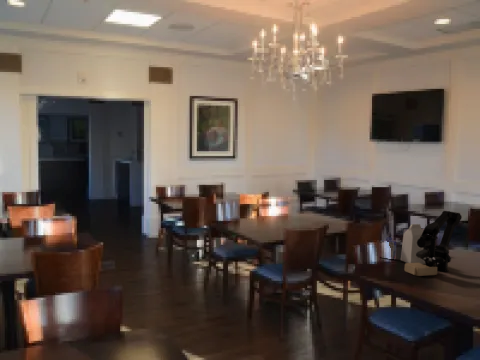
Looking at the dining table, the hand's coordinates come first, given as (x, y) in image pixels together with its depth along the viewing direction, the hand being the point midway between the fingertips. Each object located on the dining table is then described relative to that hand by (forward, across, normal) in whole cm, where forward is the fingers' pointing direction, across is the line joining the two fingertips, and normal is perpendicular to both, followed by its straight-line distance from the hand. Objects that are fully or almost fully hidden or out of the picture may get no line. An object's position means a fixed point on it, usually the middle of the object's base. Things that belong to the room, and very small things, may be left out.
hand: (428, 270), depth 286 cm
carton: (+2, -2, -7) cm, 7 cm away
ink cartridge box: (+2, -38, -3) cm, 38 cm away
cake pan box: (+2, -50, +28) cm, 57 cm away
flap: (+1, +4, -5) cm, 6 cm away
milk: (+2, -26, +9) cm, 28 cm away
